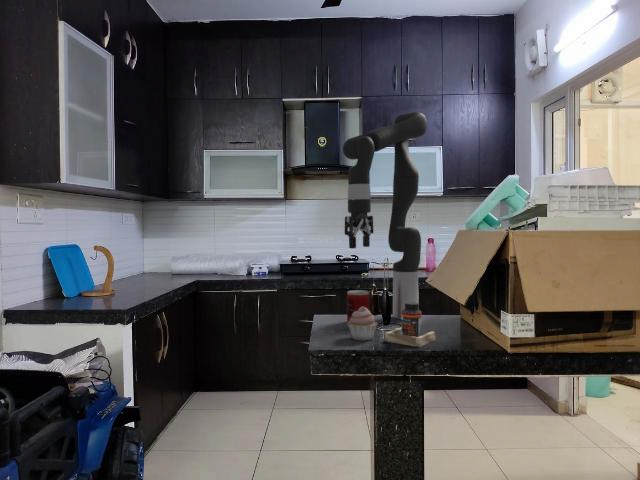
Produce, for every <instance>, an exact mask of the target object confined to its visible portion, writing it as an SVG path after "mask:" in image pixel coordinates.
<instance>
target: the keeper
mask: <svg viewBox="0 0 640 480" xmlns="http://www.w3.org/2000/svg"><path fill="white" fill-rule="evenodd" d="M386 341H387V343H394V344H397V345H398V344H399V345H405V346H411V347H417V348H421V347H423V346H425V345H427V344H430V343H431V342H432V343H433V342H434V341H436V331H433V330H432V331H429V332H427V333H425V334H421V336H419V337H415V336H408V335H402V334H401V327H398V328H395V329H393V330H390V331H386V332H385V333H384V342H386Z"/></svg>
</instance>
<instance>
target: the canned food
mask: <svg viewBox="0 0 640 480" xmlns="http://www.w3.org/2000/svg"><path fill="white" fill-rule="evenodd" d="M362 306H363V307H365V308H367V309H368V310H369V311H370V291H369V290H366V289H365V290H364V289H359V290H358V289H355V290H348V291H347V292H346V322H347V323H348V322H350V318H351V316H352V314H353V312H356V311H358V309H359V308H361V307H362Z"/></svg>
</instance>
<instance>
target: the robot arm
mask: <svg viewBox="0 0 640 480" xmlns="http://www.w3.org/2000/svg"><path fill="white" fill-rule="evenodd" d="M393 123H394V124H390V125H386V126H383V127H379V128H376V129H374V130H371V131H369V132H367V133H364V134H360V135H357V136H353V137H350V138H348V139H346V141H345V142H344V143H343V145H342V152H343V155H344V156H345V157H346V158H347V159H349V160H357V161H356V164H355V165H353V166H350V168H349V169H348V172H347V177H348V178H347V179H348V183H347V184H348V187H347V212H348V213H349V214H350V215H347V216H346V215H345V217H344V235H345V236H347V237H348V248H349V249H357V233H358V232H359V231H361V233H362V247H364V248H369V247H371V246H370V243H371V241H370V239H371V238H370V237H371V234H374V216H373V215H368V214H369V213H371V212H372V211H371V209H372V208H371V207H372V206H371V203H372V201H371V195H372V194H371V186H370V184H371V180H370V179H371V178H370V177H371V176H370V174H371V173H370V171H371V168H372V164H373V160H374V156H375V153H376V152H379V151H382V150H383V149H386V148H388V147H390V146H394V163H393V164H394V165H393V166H394V168H393V180H392V181H393V182H392V204H391V205H392V206H391V215H390V216H391V217H390V222H389V230H388V236H387V237H388V241H387V242H388V246H389V248H390V250H391V251H393V252H395V253H402V258H401V259H399V260H398V261H396V262H394V263H393V264H392V317H393V318H394V319H397V320H402V311H403V310H404V309H405V303H406V302H416V303H418V309H419V308H420V307H419V306H420V305H419V301H420V300H419V296H420V292H419V266H420V263H421V249H422V236H421V232H420V230H418V228H416V227H406V219H407V215H408V212H409V210H410V208H411V207H412V205H413V203H414V201H415V199H416V197H417V195H418V192H419V181H420V180H419V177H420V176H419V175H420V174H419V170H418V169H417V167H416V164H415V162H414V161H413V159H412V157H411V154H410V149H409V141H410V139H417V138H420V137H422V136H424V135H425V134H426V132H427V129H428V119H427V117H426V115H424V114H423V113H422V112H419V111H413V112H408V113H402V114H398V115H397V116H396V117H395V119H394V122H393ZM419 310H420V309H419Z"/></svg>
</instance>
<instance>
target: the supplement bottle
mask: <svg viewBox="0 0 640 480" xmlns="http://www.w3.org/2000/svg"><path fill="white" fill-rule="evenodd" d="M422 313H423V312H422V311H421V310H420V309H418V303H416V302H406V303H405V309H404V310H403V311H402V319H401V334H402V335H408V336H415V337H419V336H422V321H423V320H422V319H423V318H422Z"/></svg>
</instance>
